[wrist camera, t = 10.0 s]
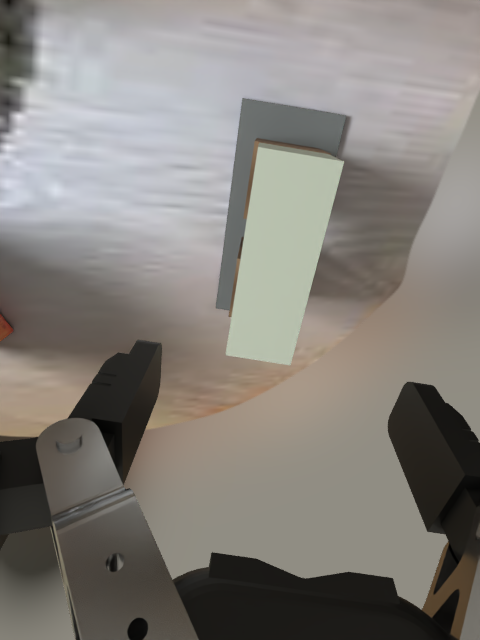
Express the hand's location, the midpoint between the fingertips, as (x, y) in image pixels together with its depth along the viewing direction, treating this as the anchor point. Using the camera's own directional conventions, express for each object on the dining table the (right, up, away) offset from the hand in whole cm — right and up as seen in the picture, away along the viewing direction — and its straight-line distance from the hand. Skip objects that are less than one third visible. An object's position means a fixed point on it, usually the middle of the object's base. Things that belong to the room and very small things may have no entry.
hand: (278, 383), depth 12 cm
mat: (+2, +11, +20) cm, 23 cm away
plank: (+1, +8, +15) cm, 17 cm away
